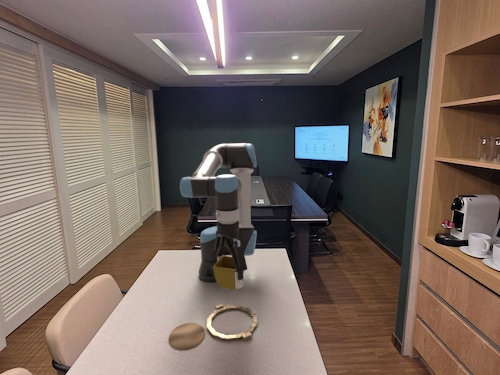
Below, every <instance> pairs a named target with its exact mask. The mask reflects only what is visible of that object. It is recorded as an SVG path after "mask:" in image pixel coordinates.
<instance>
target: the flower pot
mask: <svg viewBox="0 0 500 375" xmlns="http://www.w3.org/2000/svg"><path fill="white" fill-rule="evenodd" d="M213 269H214V274H215V279H216V281H217V282H216V283H217V284H218V286H219V287H220V288H221V289H227V290H232V291H234V290H236V288H235V270H236V268H235V265H234V262H233V259H232V256H228V255H226V256H222V257H221V259H220V260H219V261H218V262H217V263H216V264H215V265H214V266H213ZM244 272H245V271H243V274H244Z"/></svg>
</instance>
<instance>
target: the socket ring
mask: <svg viewBox="0 0 500 375" xmlns="http://www.w3.org/2000/svg"><path fill="white" fill-rule="evenodd" d="M228 311H239V312H240V311H241V312H242V313H243V312H244V313H246V314H247V315H248V316H250V318H251V320H252V324H251V325H250V326H249V328H248V329H246V330H244V331H242V332H240V333H238V334H229V335H227V334H224V333H221V332H217V331H216V330H215V329H214V328H213V326H212V323H213V322H212V321H213V320H214V319H215V318H216V317H217V316H218V315H220V314H222V313H224V312H228ZM206 319H207V320H206V331H208V333H209V334H210V335H211V337H213V338H215V339H217V340H220V341H223V342H233V341H234V342H235V341H241V340H242V341H243V342H244V343H245V342H247V341H249V340H251V339H252V338H253V336H252V334H253V332H254V331H255V330H256V329H257V326H258V320H257V314H256V313H255V312H254V311H253V310H251V309H250V307H245V306H243V305H238V304H237V305H236V304H234V305H225V306H224V304H223V303H219V304H216V305H214V310H213V312H211V314H210V315H209V316H208V317H207V318H206Z"/></svg>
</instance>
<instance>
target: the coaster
mask: <svg viewBox="0 0 500 375" xmlns="http://www.w3.org/2000/svg"><path fill="white" fill-rule="evenodd" d="M205 336H206V331H205V328H204V326H202V325H201V324H199V323H195V322H187V323H183V324H180V325H178V326H176V327H175V328H173V329H172V330H171V331H170V332H169V336H168V341H169V342H168V343H169V344H170V346H171V347H173V348H175V349H177V350H188V349H193V348H195V347H197V346H198V345H200V344H201V343H202V342H203V340H204V338H205Z"/></svg>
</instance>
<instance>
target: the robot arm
mask: <svg viewBox="0 0 500 375" xmlns="http://www.w3.org/2000/svg"><path fill="white" fill-rule="evenodd" d="M203 154H204V155H203V157H202V161H201V162H200V164H199V166H198V167H197V169H196V170H195V171H194V172H193V174H192V175H191V176H184V177H181V179H180V181H179V191H180V195H181V196H182V197H183V198H191V199H193V198H215V209H216V211H215V212H216V213H215V216H216V221H217V222H216V226H212V227H207V228H206V229H204V230H202V231H201V233H200V236H199V237H200V240H199V242H200V254H201V256H200V257H201V262H200V265H199V269H198V278H199V279H200V280H201V281H203V282H206V283H217V281H216V279H215V274H214V269H213V266H214V265H215V264H216V263H217V262H218V261H219V260H220V259H221V257H222V256H230V257H232V259H233V262H234V265H235V268H236V270H235V290H238V289H241V288H243V287H244V273H243V271H244V272H245V271H247V270H248V265H247V261H246V256H250V257H251V256H252V255H254V253H255V251H256V250H255V249H256V243H257V235H258V234H257V232H258V231H257V230H255V227H254V226H253V224H252V222H251V221H252V220H251V217H252V214H251V212H252V211H251V209H252V208H251V207H252V206H251V204H252V201H251V199H252V198H251V195H252V193H251V192H252V191H251V189H252V188H251V185H252V183H251V182H252V181H251V176H252V175H251V174H253V173H254V172H255V171H254V169H255V168H256V167H258V166H257V164H258V163H257V156H256V150H255V146H254V144H252V143H245V142H242V143H241V142H240V143H239V142H238V143H220V144H217V145H214V146H213V147H211V148H210V149H208V150H207V151H206V152H205V153H203ZM220 168H230V169H229V171H230V173H232V174H220V175H217V176H215V175H216V173H217V171H218V170H219V169H220Z"/></svg>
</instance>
